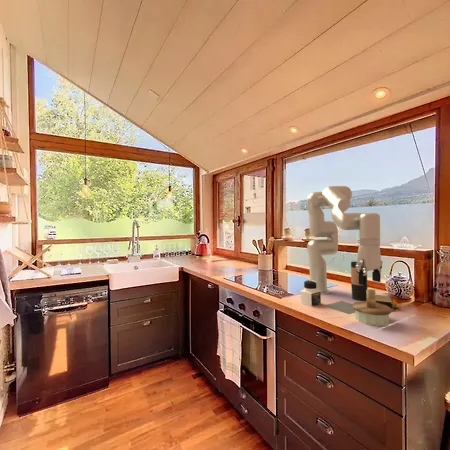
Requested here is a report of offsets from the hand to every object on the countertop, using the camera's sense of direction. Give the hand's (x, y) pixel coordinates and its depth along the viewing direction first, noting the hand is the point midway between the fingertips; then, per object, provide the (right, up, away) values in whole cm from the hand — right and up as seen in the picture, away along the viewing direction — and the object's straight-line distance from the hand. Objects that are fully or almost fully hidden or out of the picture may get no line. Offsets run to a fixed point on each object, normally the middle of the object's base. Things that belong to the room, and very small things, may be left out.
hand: (369, 283), depth 105 cm
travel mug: (+11, -16, +28) cm, 34 cm away
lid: (0, -11, -1) cm, 11 cm away
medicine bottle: (-17, -17, +23) cm, 33 cm away
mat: (-3, -16, +16) cm, 23 cm away
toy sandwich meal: (+15, -16, +15) cm, 27 cm away
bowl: (0, -16, -1) cm, 16 cm away
